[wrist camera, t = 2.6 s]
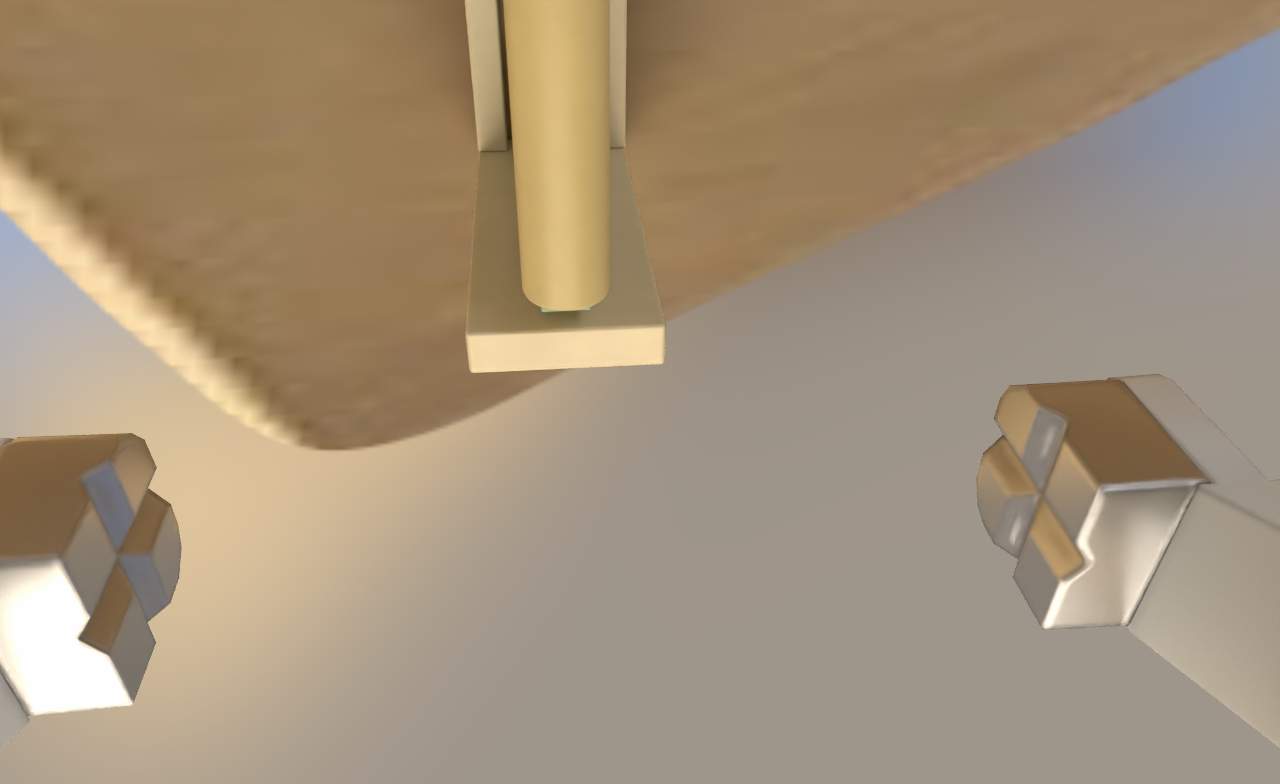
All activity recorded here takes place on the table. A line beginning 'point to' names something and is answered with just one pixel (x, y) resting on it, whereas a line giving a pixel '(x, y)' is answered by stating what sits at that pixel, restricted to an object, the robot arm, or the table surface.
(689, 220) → the table surface
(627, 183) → the window frame
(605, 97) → the cylinder
